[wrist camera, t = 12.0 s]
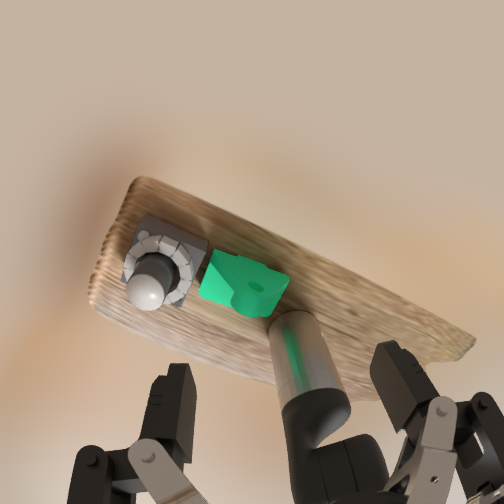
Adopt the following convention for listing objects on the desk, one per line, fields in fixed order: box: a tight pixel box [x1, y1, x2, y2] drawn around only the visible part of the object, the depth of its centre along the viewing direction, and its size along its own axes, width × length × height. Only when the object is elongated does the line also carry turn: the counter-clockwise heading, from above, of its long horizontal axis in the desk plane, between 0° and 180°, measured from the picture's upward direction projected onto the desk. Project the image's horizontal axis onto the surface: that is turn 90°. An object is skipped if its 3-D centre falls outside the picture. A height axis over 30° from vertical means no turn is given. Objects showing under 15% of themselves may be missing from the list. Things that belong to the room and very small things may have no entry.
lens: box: [126, 252, 176, 311], centre depth 33 cm, size 5×5×8 cm
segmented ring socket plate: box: [121, 214, 209, 308], centre depth 38 cm, size 10×10×6 cm
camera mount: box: [199, 249, 290, 318], centre depth 39 cm, size 12×8×10 cm, turn 66°
